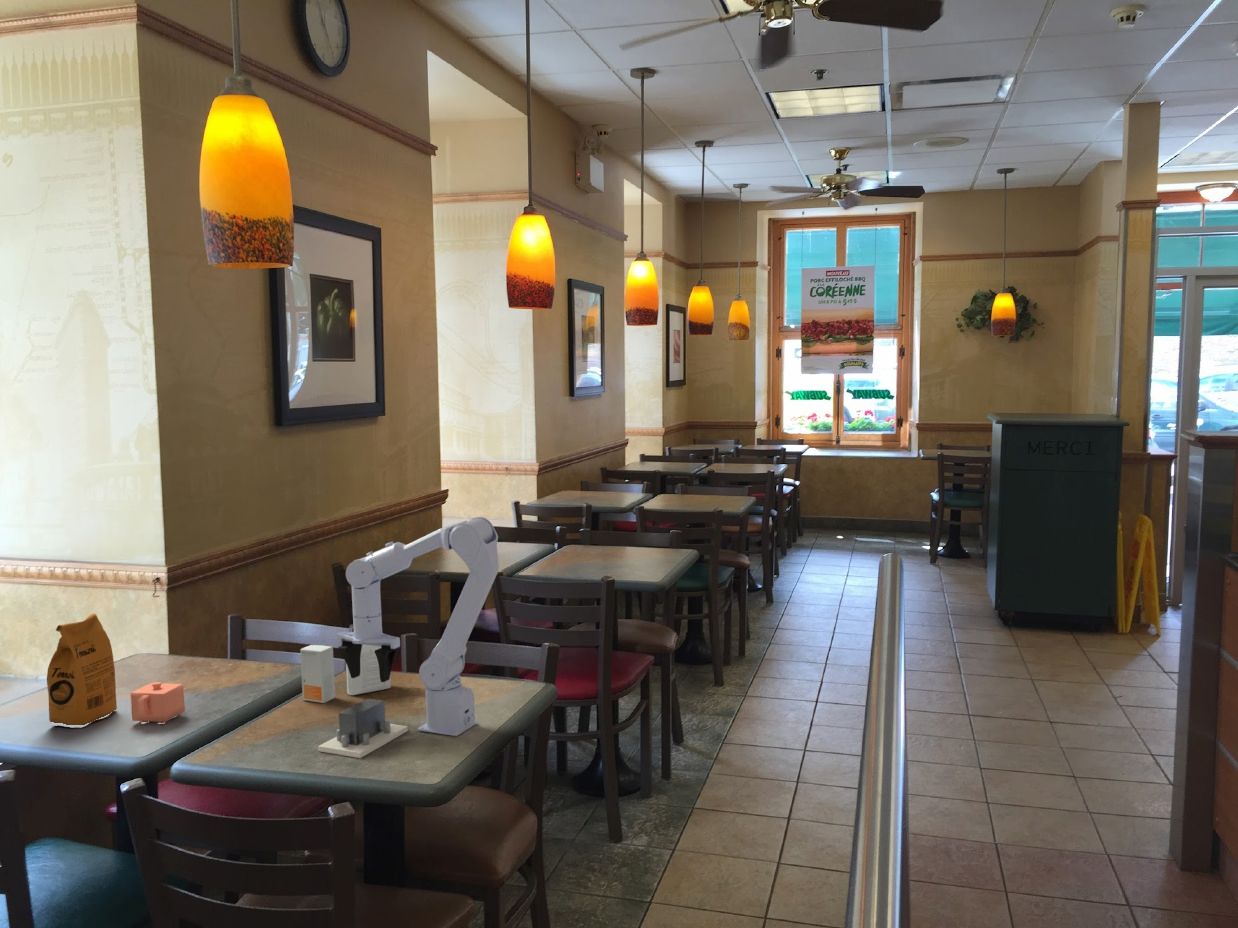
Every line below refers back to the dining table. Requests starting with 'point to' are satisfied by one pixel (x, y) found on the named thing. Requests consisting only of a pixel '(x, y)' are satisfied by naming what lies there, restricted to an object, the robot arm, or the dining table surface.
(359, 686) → the photo printer
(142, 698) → the pink cube teapot
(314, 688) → the skincare box
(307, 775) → the dining table surface
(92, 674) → the coffee package
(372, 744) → the pin tray
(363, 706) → the block
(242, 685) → the dining table surface
